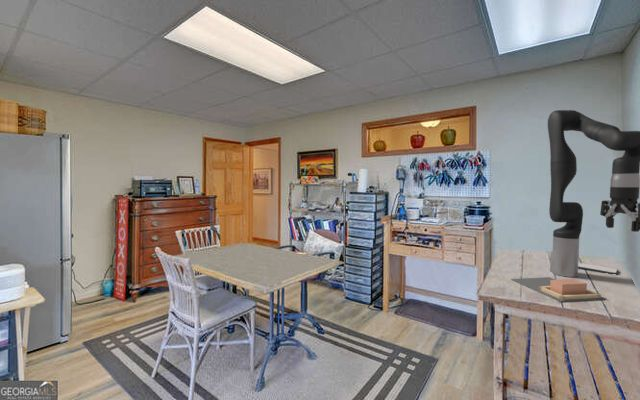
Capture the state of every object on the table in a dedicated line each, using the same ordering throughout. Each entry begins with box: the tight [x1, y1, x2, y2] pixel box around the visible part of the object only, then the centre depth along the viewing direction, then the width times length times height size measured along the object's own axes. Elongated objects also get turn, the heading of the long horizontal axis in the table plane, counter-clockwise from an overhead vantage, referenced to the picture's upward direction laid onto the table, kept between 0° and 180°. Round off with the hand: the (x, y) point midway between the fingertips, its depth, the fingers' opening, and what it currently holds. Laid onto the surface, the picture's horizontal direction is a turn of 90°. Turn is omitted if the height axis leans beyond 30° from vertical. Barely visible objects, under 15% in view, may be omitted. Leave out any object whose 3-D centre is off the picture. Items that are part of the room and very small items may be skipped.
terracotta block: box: [550, 278, 588, 295], centre depth 111 cm, size 10×5×4 cm, turn 96°
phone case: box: [578, 262, 620, 276], centre depth 142 cm, size 9×2×16 cm
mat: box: [510, 276, 608, 303], centre depth 117 cm, size 24×18×2 cm
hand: (622, 229), depth 109 cm, fingers open, 8 cm apart
